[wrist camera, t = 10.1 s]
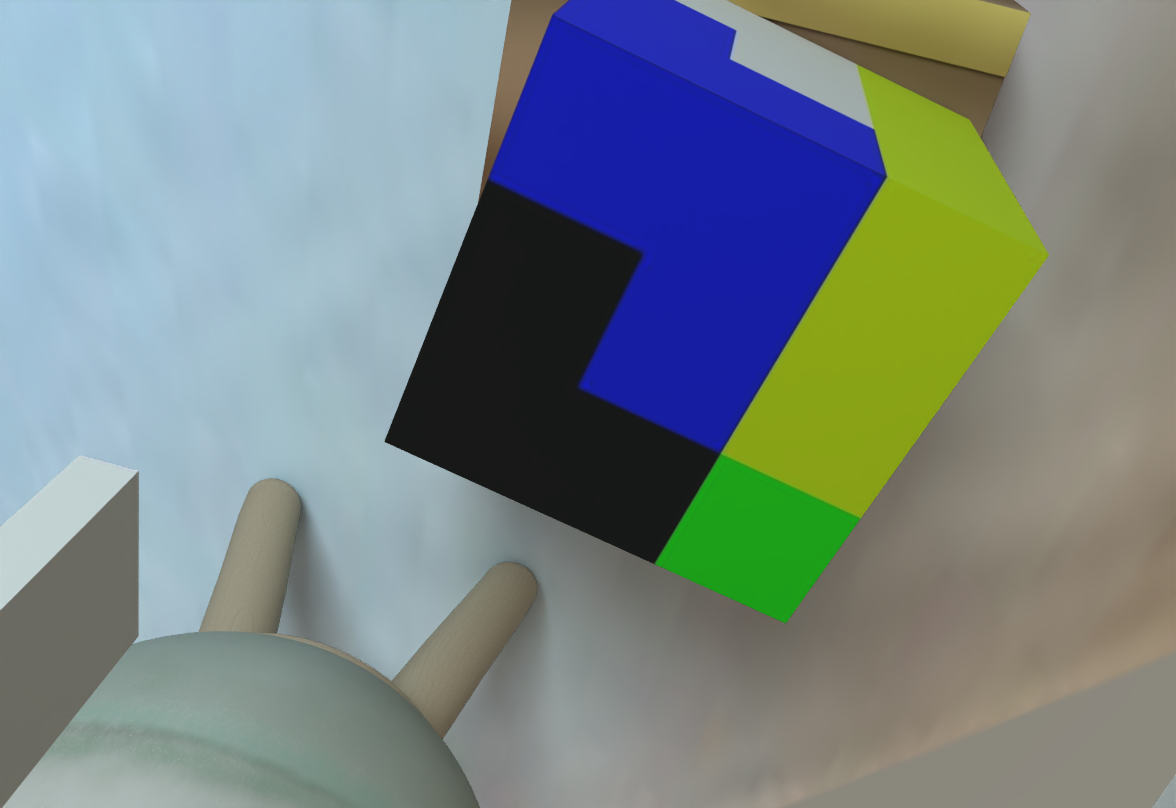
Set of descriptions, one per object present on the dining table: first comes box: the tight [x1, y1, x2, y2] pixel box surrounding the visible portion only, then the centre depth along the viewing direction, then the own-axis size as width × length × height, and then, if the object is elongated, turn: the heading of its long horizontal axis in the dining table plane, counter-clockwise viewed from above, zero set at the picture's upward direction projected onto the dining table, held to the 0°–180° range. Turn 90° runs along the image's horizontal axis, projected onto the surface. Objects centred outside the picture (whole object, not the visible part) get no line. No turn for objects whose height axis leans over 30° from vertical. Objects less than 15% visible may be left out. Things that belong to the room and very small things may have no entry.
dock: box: [478, 0, 1031, 202], centre depth 31 cm, size 15×13×6 cm
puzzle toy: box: [385, 0, 1049, 623], centre depth 26 cm, size 10×10×10 cm
